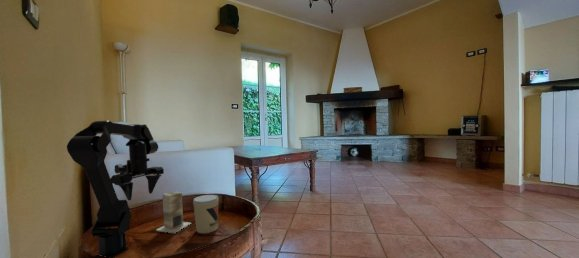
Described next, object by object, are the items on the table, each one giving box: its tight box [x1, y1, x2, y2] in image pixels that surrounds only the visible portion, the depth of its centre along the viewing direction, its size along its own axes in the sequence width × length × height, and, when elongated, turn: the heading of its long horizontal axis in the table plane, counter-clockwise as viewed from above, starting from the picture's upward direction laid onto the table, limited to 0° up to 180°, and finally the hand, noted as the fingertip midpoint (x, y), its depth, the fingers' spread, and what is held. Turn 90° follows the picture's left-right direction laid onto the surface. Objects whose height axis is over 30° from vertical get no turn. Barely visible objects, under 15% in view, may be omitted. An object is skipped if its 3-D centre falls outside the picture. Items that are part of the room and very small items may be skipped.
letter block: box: [162, 190, 184, 230], centre depth 99 cm, size 5×5×13 cm
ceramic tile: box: [155, 221, 192, 234], centre depth 99 cm, size 9×9×1 cm
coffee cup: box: [192, 194, 220, 234], centre depth 96 cm, size 9×9×12 cm
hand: (140, 196), depth 98 cm, fingers open, 9 cm apart
